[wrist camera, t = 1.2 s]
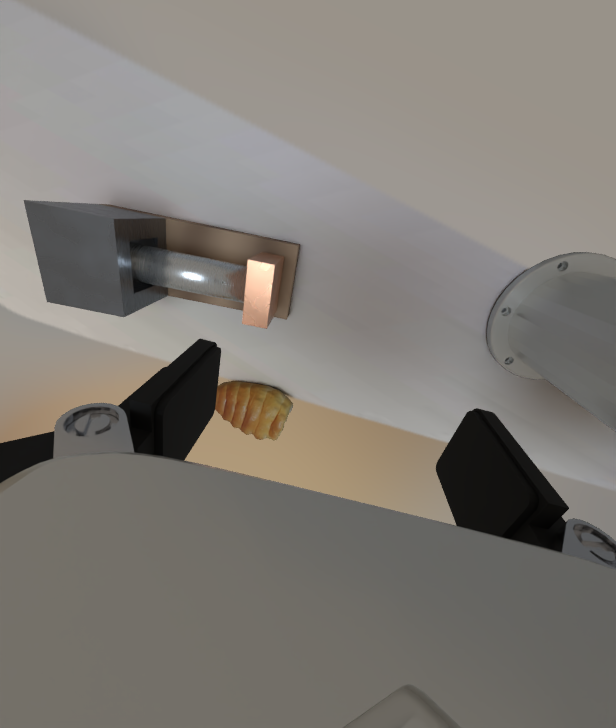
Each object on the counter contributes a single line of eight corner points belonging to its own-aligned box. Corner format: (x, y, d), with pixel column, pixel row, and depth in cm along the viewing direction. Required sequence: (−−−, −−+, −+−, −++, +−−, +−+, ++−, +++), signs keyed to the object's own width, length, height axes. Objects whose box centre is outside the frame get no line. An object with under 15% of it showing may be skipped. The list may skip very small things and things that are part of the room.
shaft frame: (300, 244, 27) (288, 255, 20) (288, 314, 31) (275, 347, 23) (109, 204, 27) (23, 200, 19) (117, 280, 30) (47, 301, 23)
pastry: (211, 409, 37) (199, 428, 34) (223, 366, 34) (211, 382, 31) (280, 432, 38) (275, 453, 35) (298, 392, 35) (294, 411, 32)
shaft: (284, 256, 26) (274, 265, 21) (276, 310, 28) (266, 328, 24) (137, 226, 25) (96, 228, 21) (141, 283, 28) (105, 296, 23)
